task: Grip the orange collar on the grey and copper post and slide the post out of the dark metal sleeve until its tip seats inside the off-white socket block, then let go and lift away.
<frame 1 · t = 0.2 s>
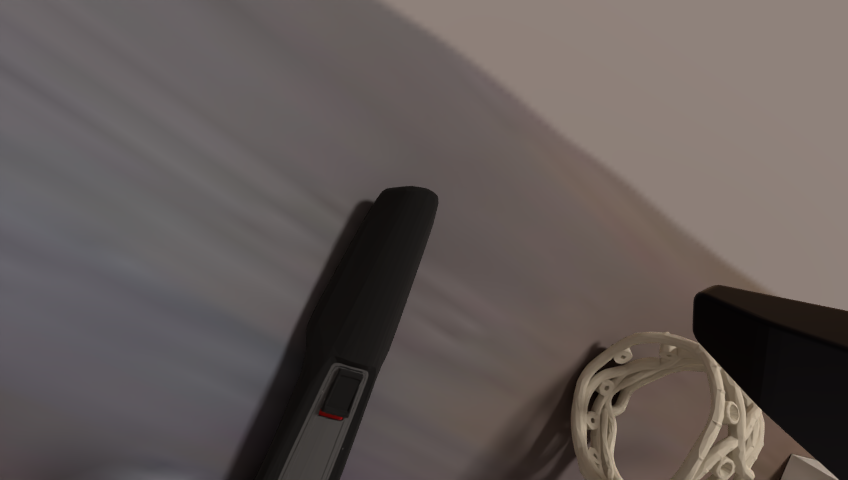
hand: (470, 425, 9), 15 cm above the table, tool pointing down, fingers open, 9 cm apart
bracelet: (602, 385, 30), on the table
electric trimmer: (327, 357, 25), on the table
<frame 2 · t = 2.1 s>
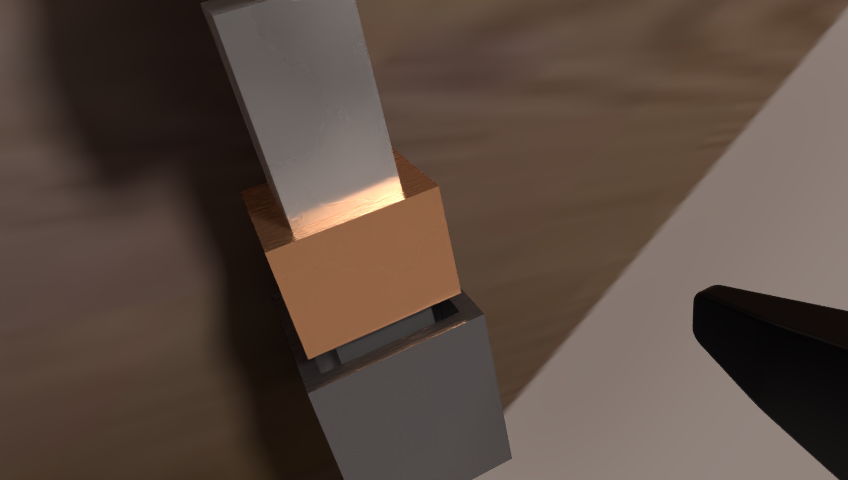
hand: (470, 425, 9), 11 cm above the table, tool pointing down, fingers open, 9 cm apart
grey and copper post: (349, 241, 15), point 4 cm above the table, slide at 0.0 cm
metal sleeve: (347, 300, 21), on the table
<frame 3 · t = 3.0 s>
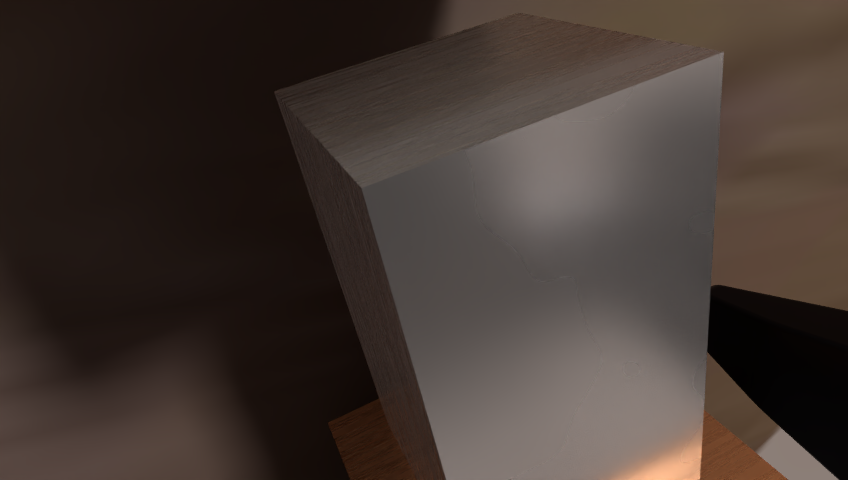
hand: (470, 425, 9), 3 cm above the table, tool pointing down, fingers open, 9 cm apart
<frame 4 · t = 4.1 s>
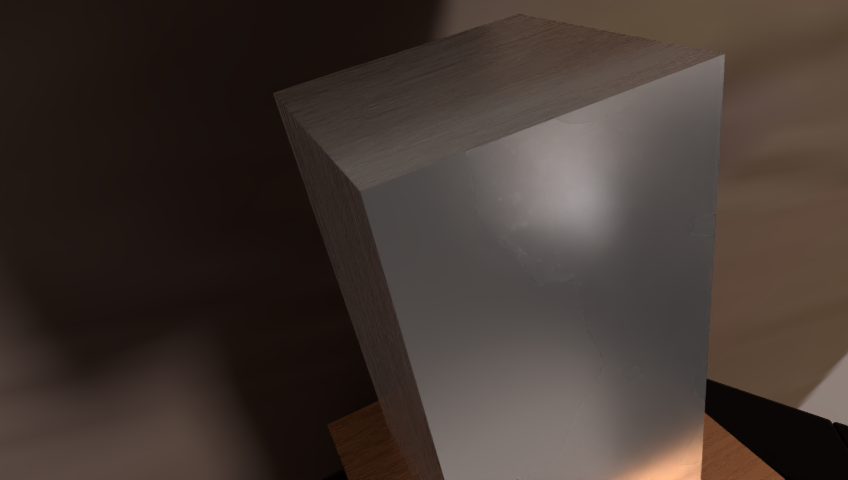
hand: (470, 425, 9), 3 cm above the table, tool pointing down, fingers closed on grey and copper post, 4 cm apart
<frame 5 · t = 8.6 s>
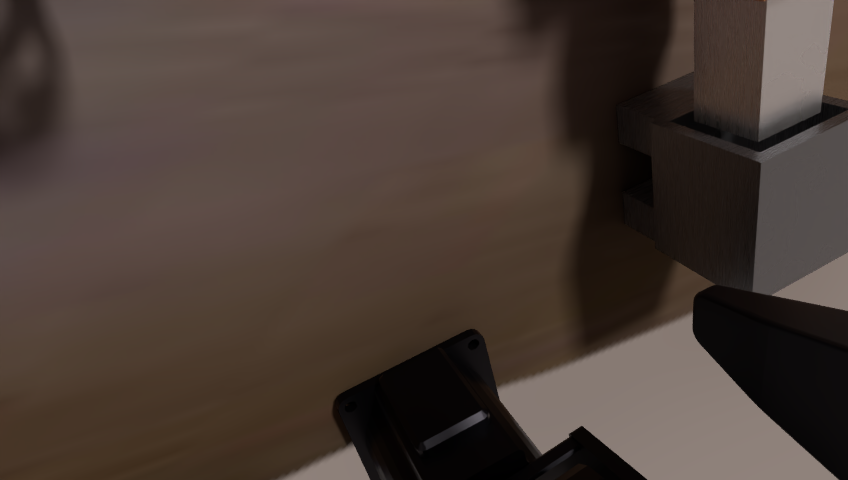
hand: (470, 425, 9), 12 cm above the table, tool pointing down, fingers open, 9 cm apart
metal sleeve: (659, 149, 25), on the table
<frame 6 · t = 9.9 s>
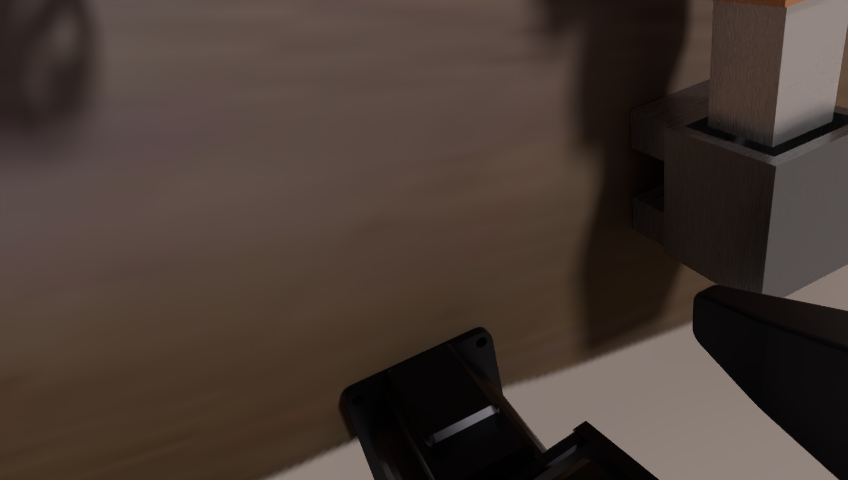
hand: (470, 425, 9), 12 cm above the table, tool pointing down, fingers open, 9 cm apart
metal sleeve: (670, 156, 25), on the table
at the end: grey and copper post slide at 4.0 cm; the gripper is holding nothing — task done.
